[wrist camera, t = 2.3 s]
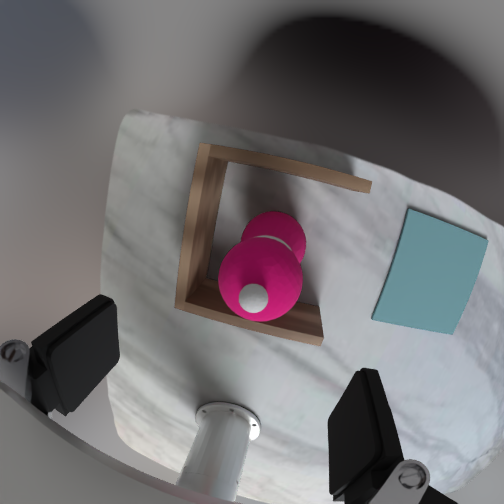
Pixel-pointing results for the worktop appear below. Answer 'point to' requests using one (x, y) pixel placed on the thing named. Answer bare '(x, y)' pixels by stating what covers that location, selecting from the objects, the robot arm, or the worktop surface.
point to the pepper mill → (264, 268)
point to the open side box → (202, 231)
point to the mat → (430, 275)
